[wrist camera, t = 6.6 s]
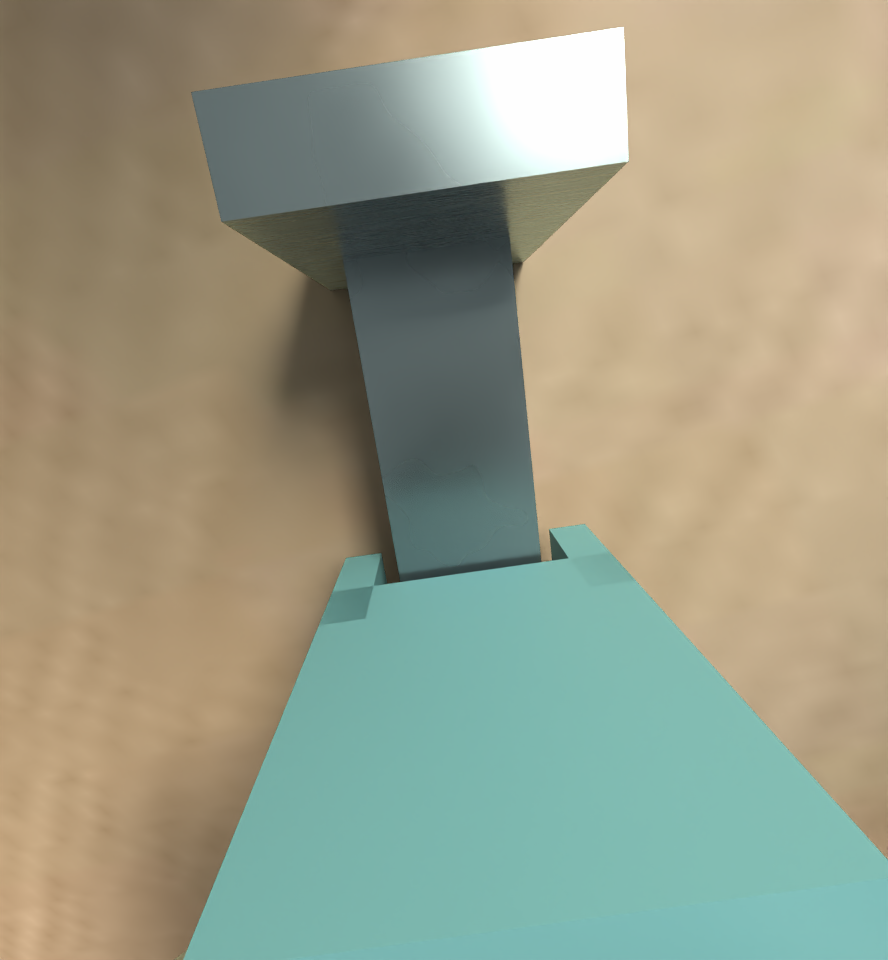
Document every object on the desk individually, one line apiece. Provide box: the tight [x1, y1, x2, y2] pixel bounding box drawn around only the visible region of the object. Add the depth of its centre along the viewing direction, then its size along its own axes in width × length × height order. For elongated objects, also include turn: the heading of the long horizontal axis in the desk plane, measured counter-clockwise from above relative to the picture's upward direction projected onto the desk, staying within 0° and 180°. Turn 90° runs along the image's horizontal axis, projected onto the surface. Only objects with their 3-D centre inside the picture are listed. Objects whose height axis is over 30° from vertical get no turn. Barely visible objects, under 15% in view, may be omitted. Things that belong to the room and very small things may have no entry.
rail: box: [191, 27, 629, 582], centre depth 10 cm, size 19×4×6 cm, turn 8°
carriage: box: [183, 524, 888, 960], centre depth 8 cm, size 6×5×8 cm
